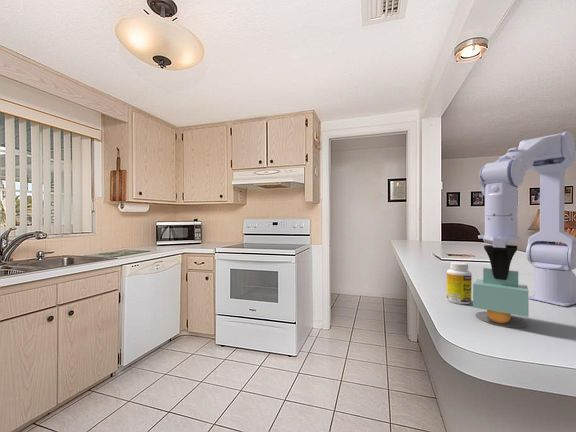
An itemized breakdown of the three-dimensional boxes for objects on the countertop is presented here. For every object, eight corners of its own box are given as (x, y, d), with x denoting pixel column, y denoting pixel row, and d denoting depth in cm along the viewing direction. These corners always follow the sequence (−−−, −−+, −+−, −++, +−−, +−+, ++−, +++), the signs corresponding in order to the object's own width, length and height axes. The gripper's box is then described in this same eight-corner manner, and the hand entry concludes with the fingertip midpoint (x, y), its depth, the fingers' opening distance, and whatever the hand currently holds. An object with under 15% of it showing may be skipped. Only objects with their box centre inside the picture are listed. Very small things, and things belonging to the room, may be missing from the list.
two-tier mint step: (477, 300, 66) (477, 265, 66) (527, 308, 60) (527, 270, 61) (472, 307, 59) (473, 268, 60) (528, 317, 53) (528, 274, 54)
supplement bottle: (465, 306, 69) (465, 265, 69) (442, 300, 74) (442, 262, 74) (475, 302, 72) (475, 263, 72) (453, 297, 77) (453, 260, 77)
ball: (491, 327, 57) (493, 321, 60) (514, 324, 55) (515, 318, 58) (482, 308, 58) (484, 303, 61) (504, 304, 56) (505, 299, 59)
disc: (490, 310, 66) (490, 309, 66) (536, 323, 58) (536, 322, 58) (466, 315, 62) (466, 315, 62) (513, 330, 54) (513, 329, 54)
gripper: (481, 216, 68) (481, 271, 68) (474, 215, 57) (474, 281, 57) (518, 216, 64) (518, 275, 64) (519, 215, 53) (519, 286, 52)
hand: (500, 278), depth 60 cm, fingers closed on two-tier mint step
